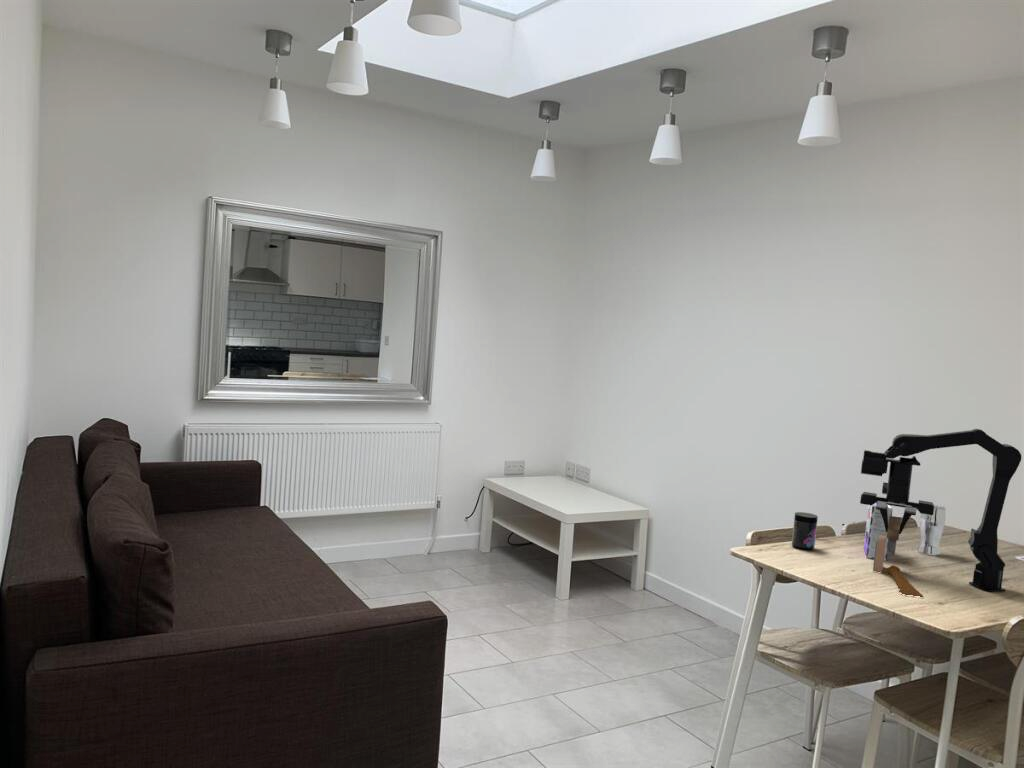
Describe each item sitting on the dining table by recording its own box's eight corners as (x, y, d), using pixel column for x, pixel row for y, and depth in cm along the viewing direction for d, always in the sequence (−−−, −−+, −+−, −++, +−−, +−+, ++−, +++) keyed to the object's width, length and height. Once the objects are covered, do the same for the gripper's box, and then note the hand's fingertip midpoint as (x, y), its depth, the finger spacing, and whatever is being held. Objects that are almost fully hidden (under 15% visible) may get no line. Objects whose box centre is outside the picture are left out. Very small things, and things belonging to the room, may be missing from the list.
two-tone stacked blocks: (897, 549, 234) (901, 515, 233) (896, 556, 226) (900, 521, 225) (886, 547, 235) (890, 513, 234) (884, 554, 227) (888, 519, 226)
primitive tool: (924, 599, 207) (926, 586, 207) (902, 597, 208) (903, 584, 208) (898, 577, 226) (900, 565, 226) (878, 575, 227) (879, 563, 227)
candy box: (862, 547, 256) (868, 496, 255) (883, 550, 254) (889, 499, 253) (865, 558, 243) (871, 504, 242) (887, 561, 241) (893, 507, 240)
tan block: (883, 566, 235) (886, 536, 234) (881, 573, 228) (885, 542, 227) (874, 565, 236) (877, 535, 235) (872, 571, 229) (876, 540, 228)
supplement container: (799, 551, 246) (803, 517, 245) (786, 544, 252) (790, 511, 252) (818, 551, 247) (822, 517, 247) (805, 545, 254) (809, 512, 253)
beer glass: (934, 557, 251) (939, 509, 249) (912, 551, 256) (917, 504, 255) (945, 555, 255) (950, 508, 254) (923, 549, 260) (928, 503, 259)
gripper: (936, 480, 232) (929, 533, 233) (865, 470, 240) (859, 521, 241) (936, 485, 222) (930, 541, 223) (863, 475, 230) (857, 528, 231)
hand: (893, 532), depth 230 cm, fingers closed on two-tone stacked blocks, 3 cm apart
